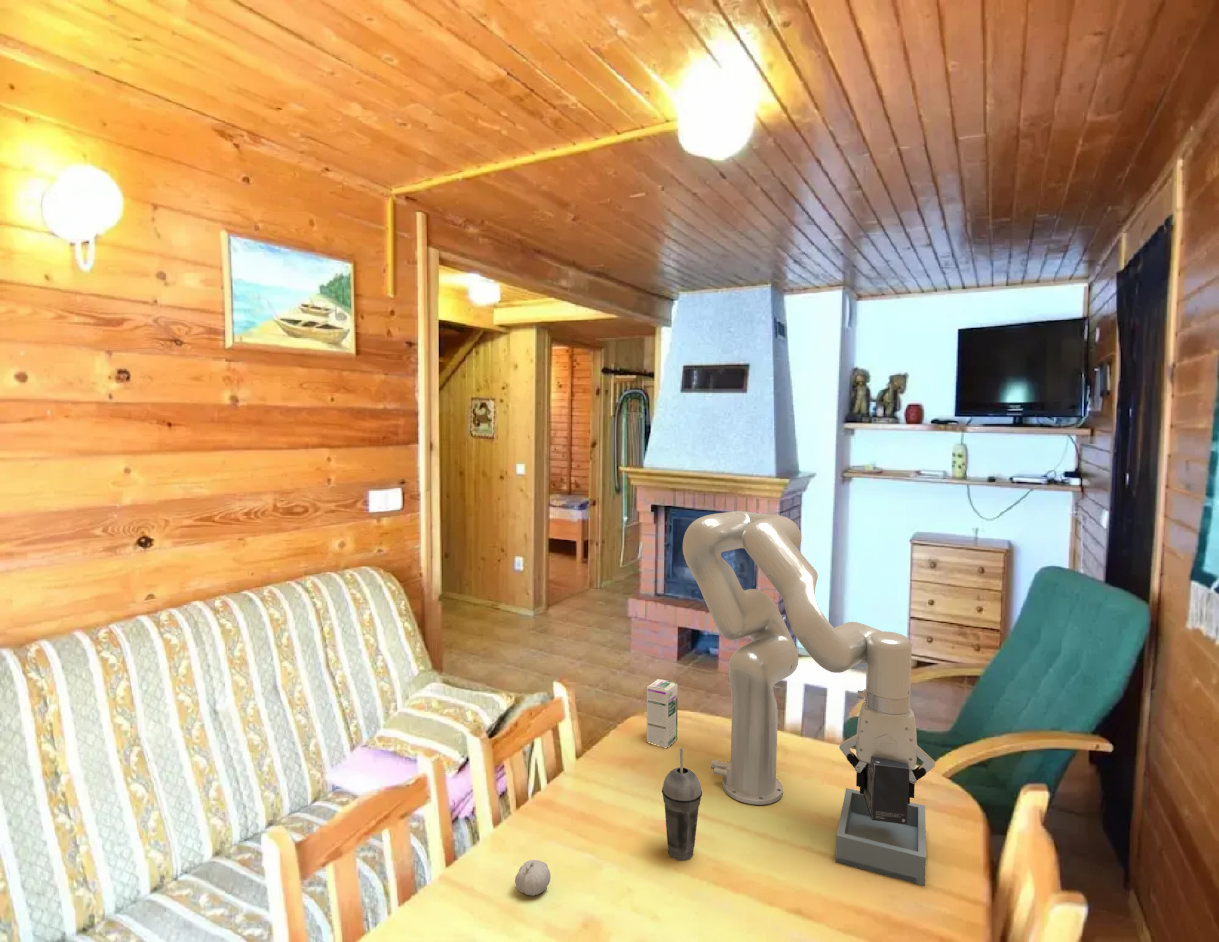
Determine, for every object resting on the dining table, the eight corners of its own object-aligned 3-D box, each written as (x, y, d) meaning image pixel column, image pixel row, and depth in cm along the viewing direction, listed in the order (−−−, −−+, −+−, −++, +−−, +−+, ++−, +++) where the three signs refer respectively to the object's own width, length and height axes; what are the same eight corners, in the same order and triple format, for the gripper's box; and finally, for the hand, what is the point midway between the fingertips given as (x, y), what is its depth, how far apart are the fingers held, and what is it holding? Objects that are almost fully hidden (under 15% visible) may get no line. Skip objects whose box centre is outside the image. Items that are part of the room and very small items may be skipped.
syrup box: (667, 749, 162) (668, 690, 161) (645, 743, 164) (646, 685, 164) (677, 740, 166) (678, 682, 165) (656, 734, 169) (657, 677, 168)
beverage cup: (704, 845, 125) (706, 740, 123) (696, 869, 118) (698, 758, 117) (666, 836, 127) (668, 733, 126) (656, 860, 120) (657, 751, 119)
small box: (910, 826, 119) (911, 768, 118) (870, 821, 120) (872, 764, 119) (897, 794, 129) (898, 740, 128) (861, 790, 130) (862, 737, 130)
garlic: (525, 907, 108) (525, 876, 108) (509, 888, 113) (509, 858, 112) (557, 892, 112) (557, 862, 112) (540, 874, 116) (540, 845, 116)
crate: (835, 862, 120) (836, 835, 120) (845, 811, 136) (846, 787, 136) (924, 885, 114) (926, 857, 114) (924, 830, 130) (925, 805, 130)
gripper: (835, 700, 124) (833, 794, 125) (941, 717, 116) (937, 817, 117) (839, 686, 130) (837, 775, 131) (939, 701, 123) (936, 796, 124)
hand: (884, 794), depth 124 cm, fingers closed on small box, 7 cm apart
